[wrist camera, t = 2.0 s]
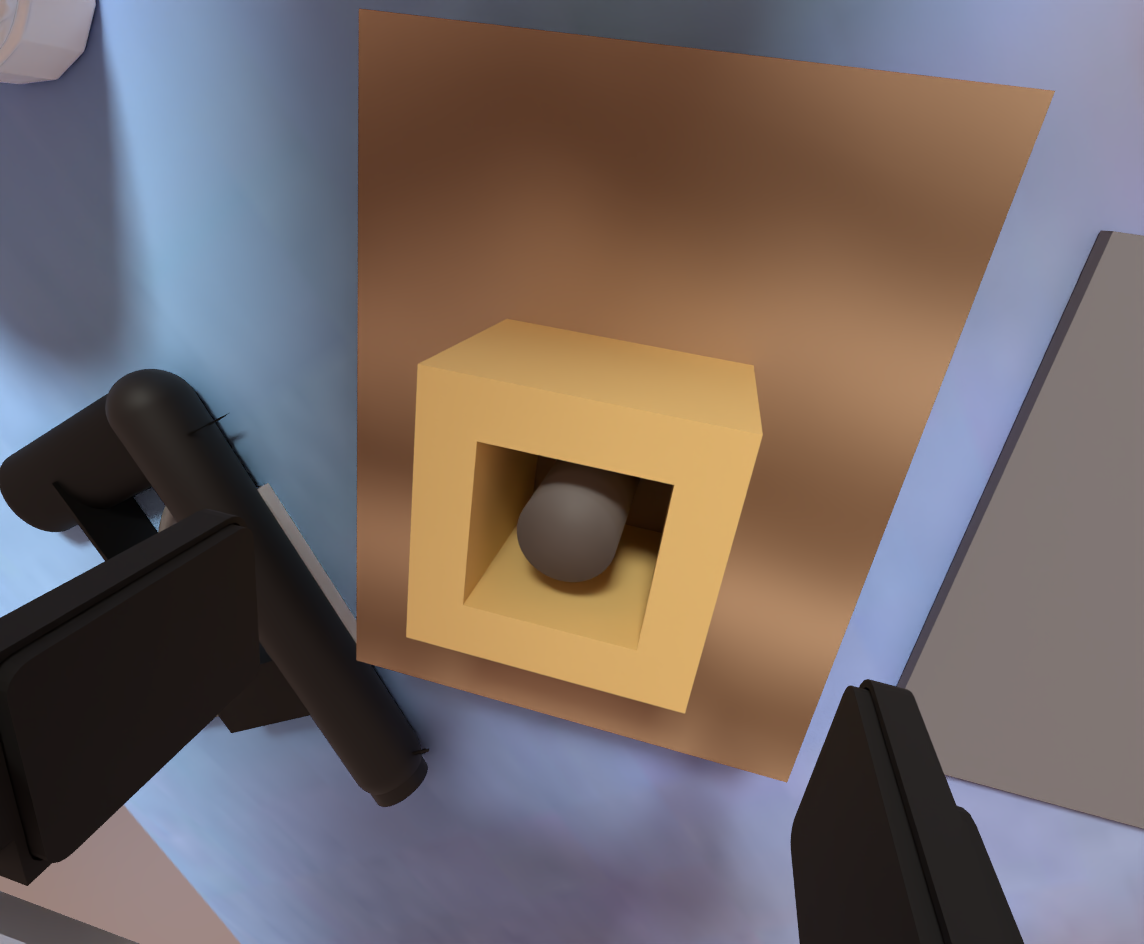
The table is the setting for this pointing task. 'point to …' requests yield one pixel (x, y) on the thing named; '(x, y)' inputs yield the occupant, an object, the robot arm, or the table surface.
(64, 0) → the white cup
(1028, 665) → the mat
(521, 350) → the collar
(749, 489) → the stand
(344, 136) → the table surface
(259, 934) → the table surface
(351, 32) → the table surface
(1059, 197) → the table surface
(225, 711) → the door handle
